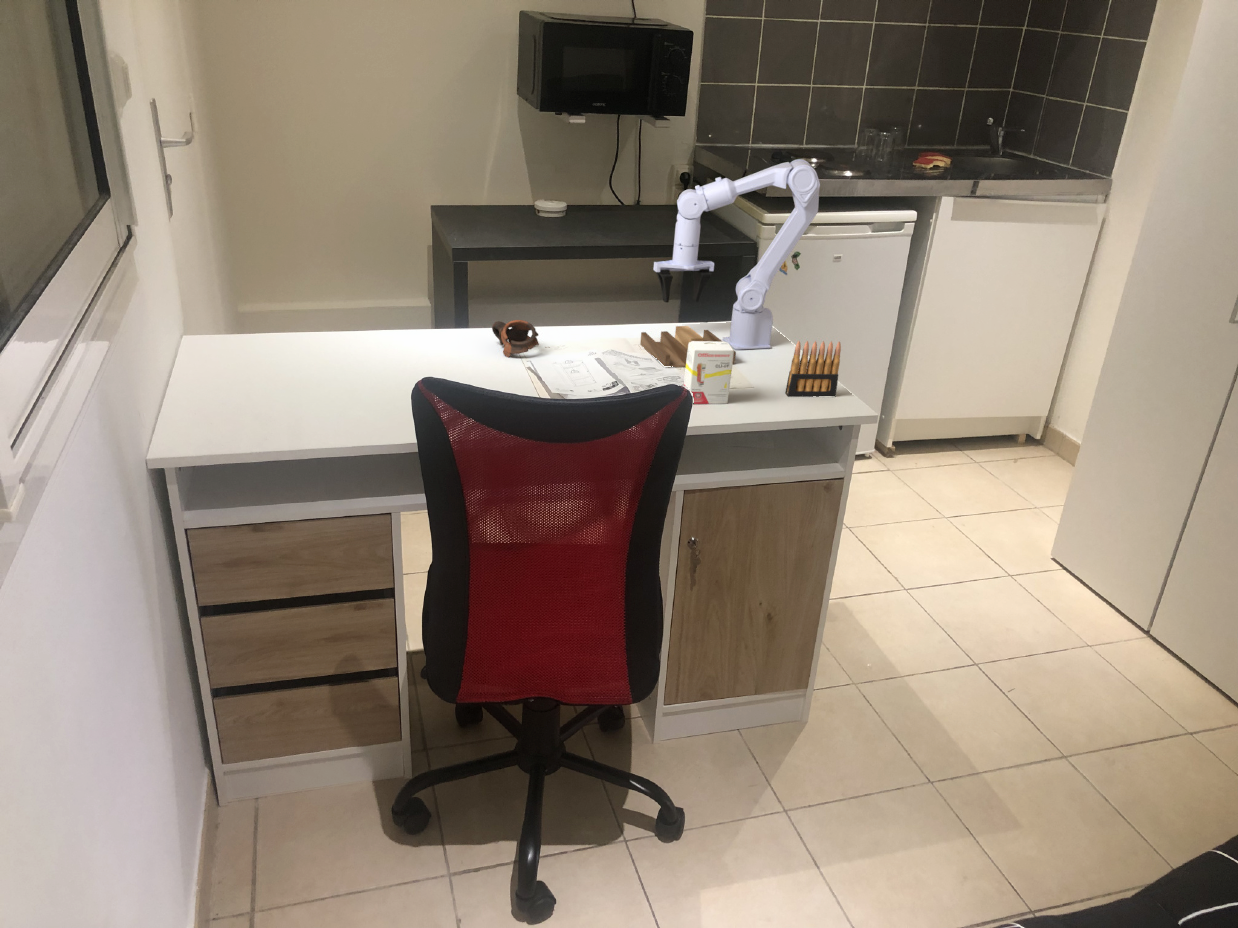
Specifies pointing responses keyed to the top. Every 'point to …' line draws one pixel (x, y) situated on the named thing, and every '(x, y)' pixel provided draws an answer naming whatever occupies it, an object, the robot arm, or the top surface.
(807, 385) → the ammunition clip
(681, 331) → the tall wooden plank
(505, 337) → the pottery mug
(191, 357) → the top surface
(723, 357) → the ink box
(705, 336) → the notched ledge
